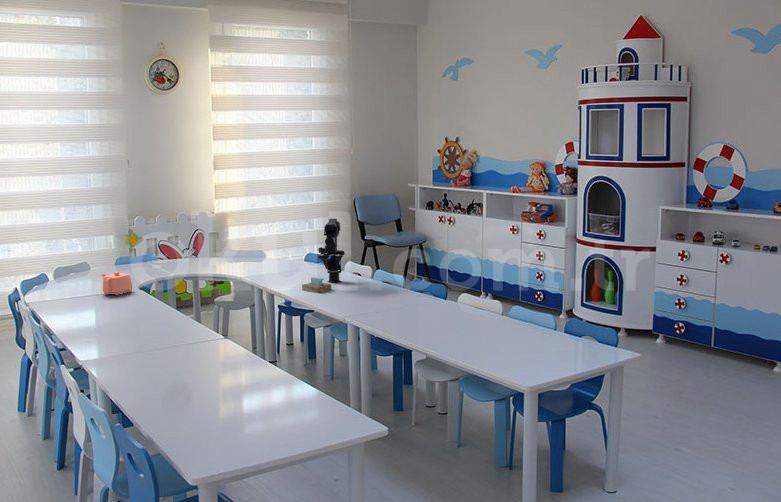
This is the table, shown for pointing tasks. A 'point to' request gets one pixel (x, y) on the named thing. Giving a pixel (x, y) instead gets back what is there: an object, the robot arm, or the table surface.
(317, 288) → the well block
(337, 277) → the robot arm
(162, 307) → the table surface
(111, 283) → the teapot
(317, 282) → the bracket
